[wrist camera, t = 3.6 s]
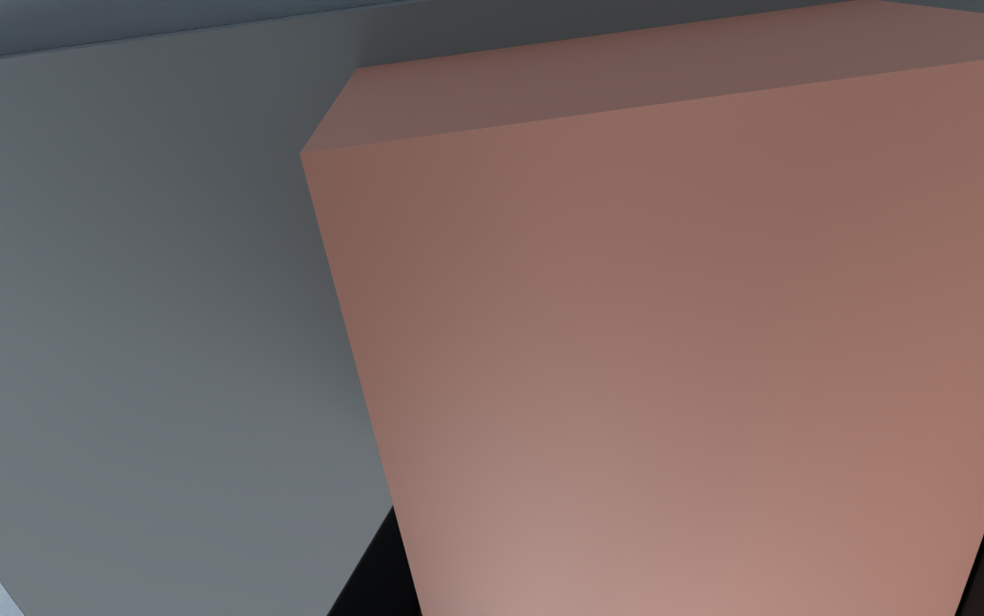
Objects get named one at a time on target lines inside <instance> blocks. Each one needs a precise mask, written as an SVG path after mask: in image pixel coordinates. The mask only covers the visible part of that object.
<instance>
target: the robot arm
mask: <svg viewBox="0 0 984 616" xmlns="http://www.w3.org/2000/svg"><path fill="white" fill-rule="evenodd" d="M327 616H423V615H422V612H421V608H420V604H419V600H418V597H417V593H416V589H415V585H414V582H413V578H412V574H411V570H410V566H409V563H408V559H407V555H406V551H405V548H404V544H403V540H402V536H401V533H400V529H399V525H398V521H397V518H396V514H395V510H394V506H393V505H392V507H391V509H390V510H389V512H388V514H387V515H386V517H385V519H384V520H383V522H382V524H381V525H380V527H379V529H378V530H377V532H376V534H375V535H374V537H373V539H372V540H371V542H370V544H369V546H368V547H367V549H366V551H365V552H364V554H363V556H362V557H361V559H360V561H359V562H358V564H357V566H356V567H355V569H354V571H353V572H352V574H351V576H350V577H349V579H348V581H347V582H346V584H345V586H344V587H343V589H342V591H341V592H340V594H339V596H338V597H337V599H336V601H335V602H334V604H333V606H332V607H331V609H330V611H329V612H328V614H327ZM955 616H984V535H983V538H982V540H981V543H980V546H979V549H978V552H977V554H976V557H975V560H974V563H973V566H972V568H971V571H970V574H969V577H968V579H967V582H966V585H965V588H964V591H963V593H962V596H961V599H960V602H959V605H958V607H957V610H956V613H955Z"/></svg>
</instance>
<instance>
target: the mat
mask: <svg viewBox="0 0 984 616" xmlns="http://www.w3.org/2000/svg"><path fill="white" fill-rule="evenodd" d="M845 1H852V0H406V1H399V2H391V3H384V4H376V5H369V6H362V7H354V8H347V9H340V10H332V11H325V12H318V13H310V14H303V15H296V16H288V17H281V18H274V19H266V20H259V21H252V22H244V23H237V24H230V25H222V26H215V27H208V28H200V29H193V30H186V31H178V32H171V33H164V34H156V35H149V36H142V37H134V38H127V39H119V40H112V41H105V42H97V43H90V44H83V45H75V46H68V47H61V48H53V49H46V50H39V51H31V52H24V53H17V54H9V55H2V56H0V583H1V584H2V586H3V587H4V588H5V590H6V591H7V592H8V594H9V595H10V596H11V598H12V599H13V601H14V602H15V603H16V605H17V606H18V607H19V609H20V610H21V611H22V613H23V614H24V616H327V614H328V612H329V611H330V609H331V607H332V606H333V604H334V602H335V601H336V599H337V597H338V596H339V594H340V592H341V591H342V589H343V587H344V586H345V584H346V582H347V581H348V579H349V577H350V576H351V574H352V572H353V571H354V569H355V567H356V566H357V564H358V562H359V561H360V559H361V557H362V556H363V554H364V552H365V551H366V549H367V547H368V546H369V544H370V542H371V540H372V539H373V537H374V535H375V534H376V532H377V530H378V529H379V527H380V525H381V524H382V522H383V520H384V519H385V517H386V515H387V514H388V512H389V510H390V509H391V507H392V505H393V503H392V499H391V495H390V491H389V488H388V484H387V480H386V476H385V473H384V469H383V465H382V461H381V458H380V454H379V450H378V446H377V443H376V439H375V435H374V431H373V428H372V424H371V420H370V416H369V413H368V409H367V405H366V401H365V398H364V394H363V390H362V386H361V383H360V379H359V375H358V371H357V368H356V364H355V360H354V356H353V353H352V349H351V345H350V341H349V338H348V334H347V330H346V326H345V322H344V319H343V315H342V311H341V307H340V304H339V300H338V296H337V292H336V289H335V285H334V281H333V277H332V274H331V270H330V266H329V262H328V259H327V255H326V251H325V247H324V244H323V240H322V236H321V232H320V229H319V225H318V221H317V217H316V214H315V210H314V206H313V202H312V199H311V195H310V191H309V187H308V184H307V180H306V176H305V172H304V169H303V165H302V161H301V157H300V154H299V153H300V152H301V151H302V149H303V148H304V146H305V145H306V143H307V142H308V140H309V139H310V137H311V136H312V134H313V133H314V131H315V130H316V128H317V127H318V125H319V124H320V122H321V121H322V119H323V118H324V116H325V115H326V113H327V112H328V110H329V109H330V107H331V106H332V104H333V103H334V101H335V100H336V98H337V97H338V95H339V94H340V92H341V91H342V89H343V88H344V87H345V85H346V84H347V82H348V81H349V79H350V78H351V76H352V75H353V73H354V72H355V70H356V69H357V68H362V67H369V66H377V65H384V64H391V63H398V62H406V61H413V60H420V59H428V58H435V57H442V56H450V55H457V54H464V53H472V52H479V51H486V50H494V49H501V48H508V47H516V46H523V45H530V44H537V43H545V42H552V41H559V40H567V39H574V38H581V37H589V36H596V35H603V34H611V33H618V32H625V31H633V30H640V29H647V28H655V27H662V26H669V25H677V24H684V23H691V22H698V21H706V20H713V19H720V18H728V17H735V16H742V15H750V14H757V13H764V12H772V11H779V10H786V9H794V8H801V7H808V6H816V5H823V4H830V3H837V2H845ZM880 1H888V2H896V3H904V4H913V5H921V6H929V7H937V8H945V9H954V10H962V11H970V12H978V13H984V0H880Z"/></svg>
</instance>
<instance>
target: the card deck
mask: <svg viewBox="0 0 984 616" xmlns="http://www.w3.org/2000/svg"><path fill="white" fill-rule="evenodd" d="M299 154H300V157H301V161H302V165H303V169H304V172H305V176H306V180H307V184H308V187H309V191H310V195H311V199H312V202H313V206H314V210H315V214H316V217H317V221H318V225H319V229H320V232H321V236H322V240H323V244H324V247H325V251H326V255H327V259H328V262H329V266H330V270H331V274H332V277H333V281H334V285H335V289H336V292H337V296H338V300H339V304H340V307H341V311H342V315H343V319H344V322H345V326H346V330H347V334H348V338H349V341H350V345H351V349H352V353H353V356H354V360H355V364H356V368H357V371H358V375H359V379H360V383H361V386H362V390H363V394H364V398H365V401H366V405H367V409H368V413H369V416H370V420H371V424H372V428H373V431H374V435H375V439H376V443H377V446H378V450H379V454H380V458H381V461H382V465H383V469H384V473H385V476H386V480H387V484H388V488H389V491H390V495H391V499H392V503H393V506H394V510H395V514H396V518H397V521H398V525H399V529H400V533H401V536H402V540H403V544H404V548H405V551H406V555H407V559H408V563H409V566H410V570H411V574H412V578H413V582H414V585H415V589H416V593H417V597H418V600H419V604H420V608H421V612H422V615H423V616H955V613H956V610H957V607H958V605H959V602H960V599H961V596H962V593H963V591H964V588H965V585H966V582H967V579H968V577H969V574H970V571H971V568H972V566H973V563H974V560H975V557H976V554H977V552H978V549H979V546H980V543H981V540H982V538H983V535H984V13H978V12H970V11H962V10H954V9H945V8H937V7H929V6H921V5H913V4H904V3H896V2H888V1H880V0H852V1H845V2H837V3H830V4H823V5H816V6H808V7H801V8H794V9H786V10H779V11H772V12H764V13H757V14H750V15H742V16H735V17H728V18H720V19H713V20H706V21H698V22H691V23H684V24H677V25H669V26H662V27H655V28H647V29H640V30H633V31H625V32H618V33H611V34H603V35H596V36H589V37H581V38H574V39H567V40H559V41H552V42H545V43H537V44H530V45H523V46H516V47H508V48H501V49H494V50H486V51H479V52H472V53H464V54H457V55H450V56H442V57H435V58H428V59H420V60H413V61H406V62H398V63H391V64H384V65H377V66H369V67H362V68H357V69H356V70H355V72H354V73H353V75H352V76H351V78H350V79H349V81H348V82H347V84H346V85H345V87H344V88H343V89H342V91H341V92H340V94H339V95H338V97H337V98H336V100H335V101H334V103H333V104H332V106H331V107H330V109H329V110H328V112H327V113H326V115H325V116H324V118H323V119H322V121H321V122H320V124H319V125H318V127H317V128H316V130H315V131H314V133H313V134H312V136H311V137H310V139H309V140H308V142H307V143H306V145H305V146H304V148H303V149H302V151H301V152H300V153H299Z"/></svg>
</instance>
